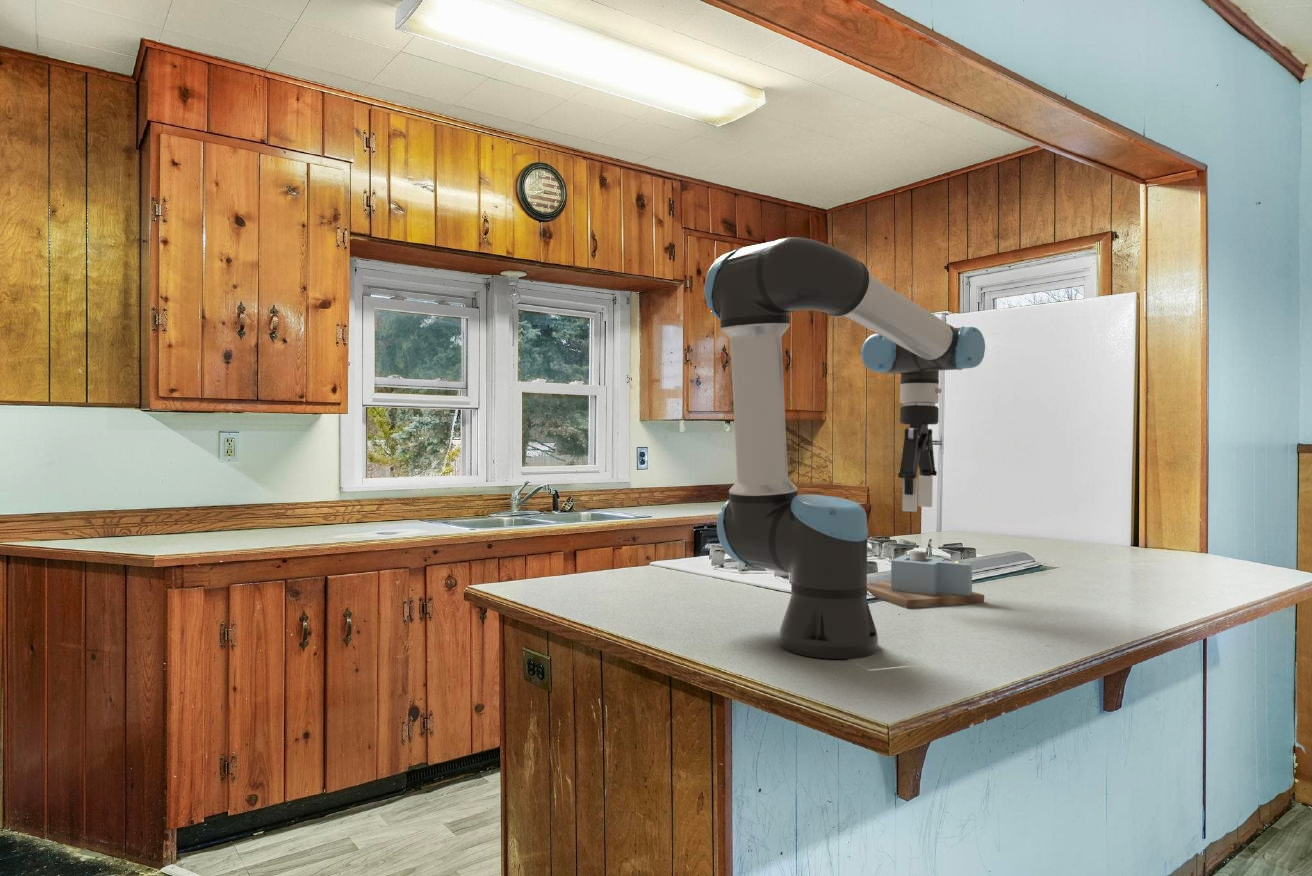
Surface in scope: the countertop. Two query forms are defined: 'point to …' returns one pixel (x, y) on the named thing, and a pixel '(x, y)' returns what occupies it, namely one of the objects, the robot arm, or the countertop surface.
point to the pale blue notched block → (931, 576)
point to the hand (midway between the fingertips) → (917, 509)
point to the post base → (919, 599)
